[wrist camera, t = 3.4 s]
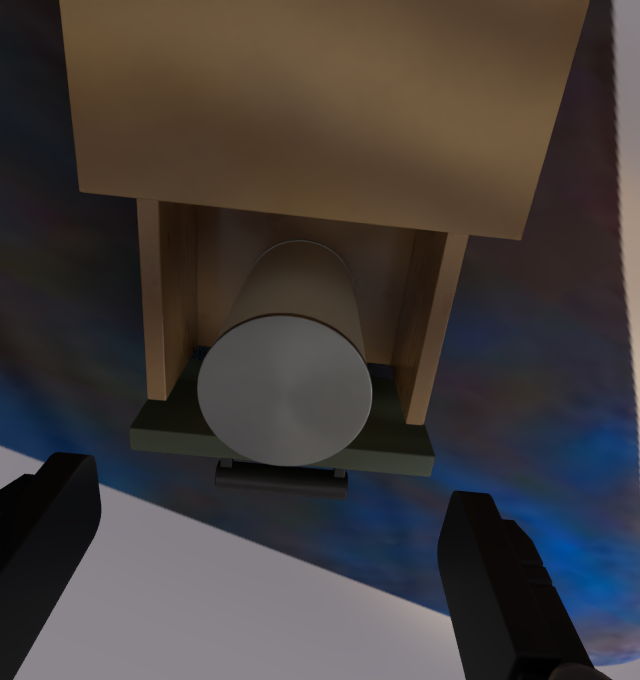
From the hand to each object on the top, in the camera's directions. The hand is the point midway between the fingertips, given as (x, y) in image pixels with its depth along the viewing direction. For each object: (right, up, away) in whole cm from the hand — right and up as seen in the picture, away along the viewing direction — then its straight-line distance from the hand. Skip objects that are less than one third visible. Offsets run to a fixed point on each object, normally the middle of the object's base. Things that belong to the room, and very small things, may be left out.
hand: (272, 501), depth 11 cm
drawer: (0, +5, +15) cm, 16 cm away
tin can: (0, +6, +13) cm, 15 cm away
